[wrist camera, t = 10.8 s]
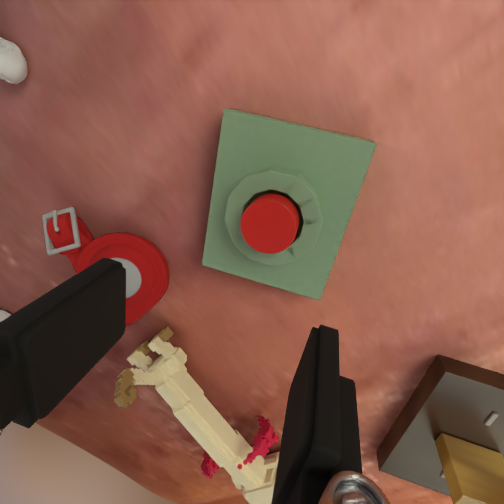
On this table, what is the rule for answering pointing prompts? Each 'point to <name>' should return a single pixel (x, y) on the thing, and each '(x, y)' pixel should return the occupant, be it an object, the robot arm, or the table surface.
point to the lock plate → (444, 421)
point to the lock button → (270, 223)
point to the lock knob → (471, 471)
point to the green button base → (290, 186)
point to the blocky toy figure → (202, 419)
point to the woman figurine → (12, 63)
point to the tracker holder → (113, 247)
